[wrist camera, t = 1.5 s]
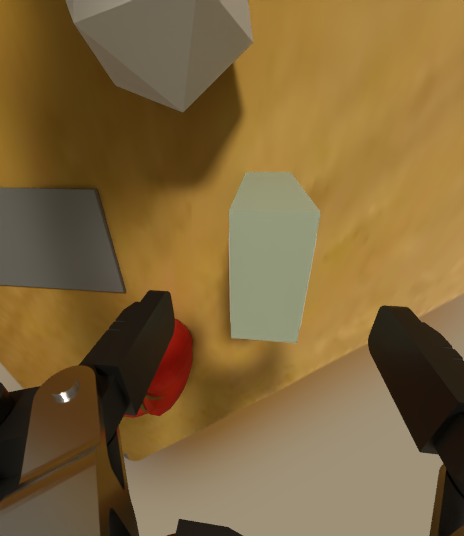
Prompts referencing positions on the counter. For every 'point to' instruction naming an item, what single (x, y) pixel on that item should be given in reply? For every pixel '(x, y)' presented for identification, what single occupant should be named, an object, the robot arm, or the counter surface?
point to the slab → (270, 256)
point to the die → (164, 43)
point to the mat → (56, 240)
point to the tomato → (169, 374)
